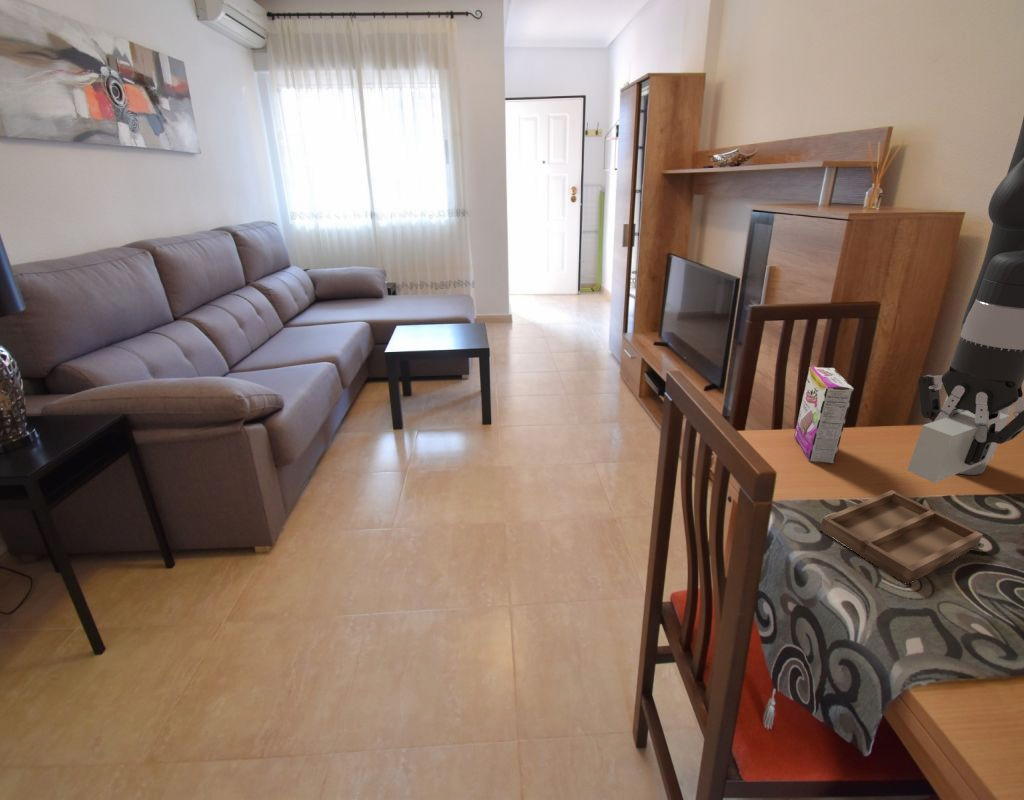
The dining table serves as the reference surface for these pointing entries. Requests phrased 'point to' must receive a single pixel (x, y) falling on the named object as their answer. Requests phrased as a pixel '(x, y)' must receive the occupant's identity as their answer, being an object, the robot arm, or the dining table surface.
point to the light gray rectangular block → (948, 446)
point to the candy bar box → (823, 414)
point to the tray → (901, 535)
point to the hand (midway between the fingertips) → (953, 455)
